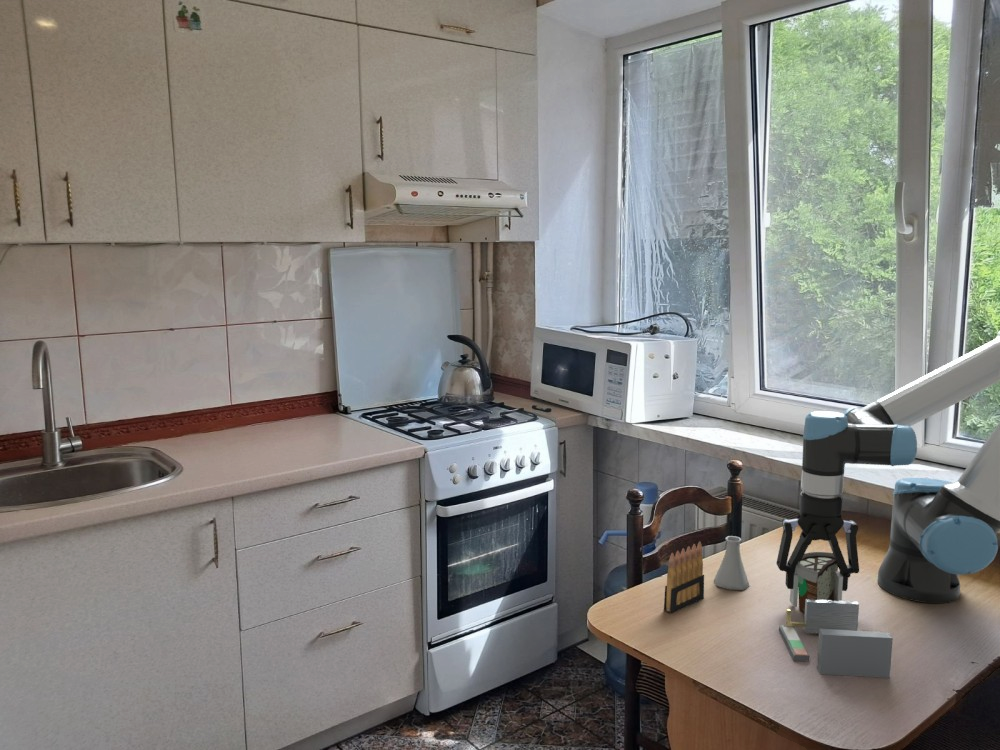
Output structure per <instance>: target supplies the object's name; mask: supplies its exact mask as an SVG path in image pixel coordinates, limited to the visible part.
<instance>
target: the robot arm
mask: <svg viewBox="0 0 1000 750" xmlns="http://www.w3.org/2000/svg"><path fill="white" fill-rule="evenodd" d="M999 382H1000V330H998V332H997V334H996V337H995V338H994V339H993V340H991V341H989V342H986V343H985V344H983V345H981V346H979V347H977V348H975V349H973V350H971V351H969V352H968V353H965V354H964V355H962V356H960V357H958V358H956V359H954V360H952V361H950V362H948V363H947V364H945V365H942V366H940V367H939V368H937V369H934V370H933V371H931V372H929V373H927V374H925V375H924V376H921V377H919V378H918V379H916V380H914V381H912V382H910V383H908V384H906V385H904V386H903V387H900V388H899V389H897V390H895V391H893V392H891V393H889V394H887V395H885V396H883V397H880V398H879V399H877V400H875V401H874V402H871V403H869V404H867V405H866V406H863V407H862V406H853V407H849V408H847V409H845V410H843V412H839V411H829V410H815V411H811V412H809V413H807V415H806V417H805V419H804V427H803V434H802V438H803V439H802V466H801V481H800V489H801V490H802V491H800V495H799V497H800V498H799V511H798V512H799V513H798V515H797V516H796V518H792V519H788V518H783V519H782V520H781V524H782V528H783V530H782V533H781V534H782V536H781V540H780V545H779V549H778V555H777V559H776V566H777V568H778V569H779V571H781V572H785V586H786V588H787V590H789V602H790V604H791V605H792V606H791V607H793V608H798V601H799V594H798V581H799V578H798V575H797V574H796V572H795V568H796V565H797V564H798V561H799V563H800V561H801V559H802V557H803V555H804V554H805V553H807V549H808V548H809V546H811V545H812V542H813V541H820V540H821V541H824V542H825V541H827V542H828V544H829V546H830V549H831V553H833V554H834V557H835V560H836V562H837V565H838V571H835V577H834V594H833V600H838V601H843V592H847V590H848V587H849V586H848V585H849V579H850V577H851V574H858V573H859V572H860V565H859V564H860V563H859V555H858V554H859V553H858V543H857V534H858V532H859V525H858V524H857V522H855V521H854V520H851V519H850V520H844V519H843V517H842V513H843V496H842V494H843V492H844V481H845V479H844V477H845V467H846V465H847V464H852V465H853V464H854V465H855V464H856V465H874V466H875V465H876V466H890V467H894V466H909V465H911V464H912V463H914V461H915V460H916V457H917V453H918V440H917V435H916V432H915V430H914V429H913V428H912V426H914V425H916V424H918V423H920V422H922V421H924V420H926V419H928V418H930V417H932V416H934V415H936V414H938V413H940V412H942V411H944V410H946V409H948V408H950V407H952V406H954V405H956V404H957V403H960V402H963V401H964V400H966V399H967V398H969V397H972V396H974V395H976V394H977V393H980V392H982V391H984V390H986V389H988V388H989V387H992V386H994V385H996V384H998V383H999ZM892 496H893V498H892V499H893V500H892V509H891V510H892V511H891V514H892V515H891V524H890V536H889V537H890V538H889V546H888V550H887V552H886V554H885V556H884V557H883V560H882V562H881V564H880V566H879V568H878V571H877V583H878V585H879V586H880V588H882V589H883V590H885V591H886V592H888V593H890V594H892V595H894V596H897V597H900V598H903V599H906V600H910V601H915V602H919V603H928V604H929V603H930V604H944V603H945V604H946V603H952V602H955V601H956V600H957V599H959V598H960V595H961V594H960V593H961V581H960V578H959V576H961V575H970V574H975V573H978V572H980V571H982V570H984V569H986V568H987V567H988V566H989V565H990V564H991V563H992V562H993V561H994V560H995V558H996V556H997V553H998V550H999V545H998V537H997V534H998V533H999V532H1000V421H999V422H998V423H997V425H996V426H995V428H994V429H993V431H992V432H991V433H990V434H989V436H988V437H987V438H986V440H985V441H984V443H983V445H982V446H981V447H980V449H979V450H978V451H977V453H976V454H975V456H974V457H973V458H972V460H971V461H970V462H969V464H968V466H967V467H966V468H965V470H964V471H963V472H962V474H961V475H960V477H959V478H958V480H957V481H955V482H951V481H948V480H942V479H935V478H924V477H923V478H922V477H905V478H900V479H898V480H897V481H896V482H895V483H894V489H893V493H892ZM797 526H798V527H800V529H801V532H800V535H799V538H798V540H797V543H796V545H795V546H794V548H793V551H792V553H791V554H790V549H791V544H792V540H793V532H795V530H796V528H797ZM842 528H843V530H844V532H845V540H846V542H845V543H846V551H847V562H848V563H847V562H846V560H845V558H844V555H843V552H842V550H841V546H840V545H839V541H838V538H837V534H838V532H839V531H840V530H841V529H842ZM789 554H790V556H789Z"/></svg>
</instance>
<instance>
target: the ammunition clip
mask: <svg viewBox="0 0 1000 750" xmlns="http://www.w3.org/2000/svg"><path fill="white" fill-rule="evenodd" d="M667 567H668V568H667V569H668V570H667V574H666V585H665V586H664V600H663V601H664V603H663V611H664V612H667V613H669V614H670V615H673V614H675V613H676V612H679V611H681V610H683V609H685V608H687V607H689V606H691V605H693V604H695V603H697V602H699V600H700V601H702V600H704V599H705V575H704V574H703V573H704V572H703V568H704V561H703V546H702V543H701V541H698V543H697V546H696V543H693V545H692V546H691V547H690V546H689V545H688V546H687V547H686V550H685V548H684V547H683V548H682V549H681V551H679V550H676V552H675V555H674V552H671V554H670V555H669V560H668V566H667Z"/></svg>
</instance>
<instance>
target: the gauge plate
mask: <svg viewBox="0 0 1000 750" xmlns="http://www.w3.org/2000/svg"><path fill="white" fill-rule="evenodd" d="M859 611H860V603H859V602H858V601H855V600H842V601H838V600H816V599H806V601H805V615H804V616H803V617H804V619H803V621H802V622H801V621H791V617H792V616H791V614H792V611H791V609H789V608H788V609H786V615H785V617H786V618H785V625H786V626H794V627H796V628H797V627H798V628H799V627H801V628H803V631H804V633H805V634H806V633H807V634H818V635H819V629H832V630H853V631H858V623H859Z"/></svg>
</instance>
